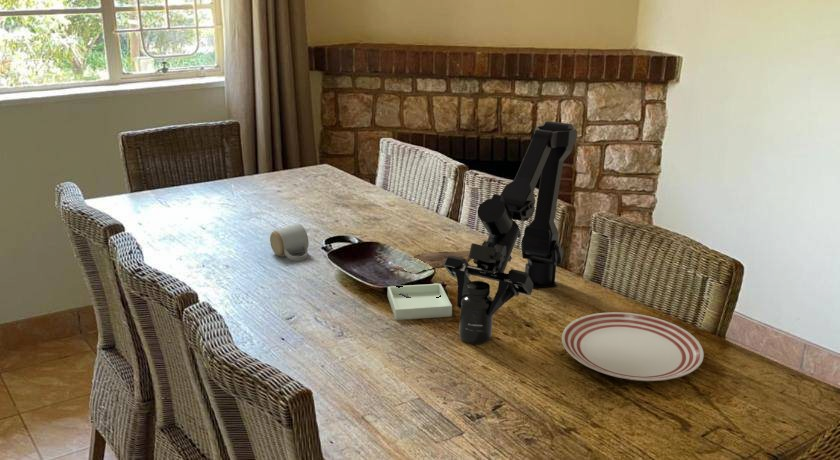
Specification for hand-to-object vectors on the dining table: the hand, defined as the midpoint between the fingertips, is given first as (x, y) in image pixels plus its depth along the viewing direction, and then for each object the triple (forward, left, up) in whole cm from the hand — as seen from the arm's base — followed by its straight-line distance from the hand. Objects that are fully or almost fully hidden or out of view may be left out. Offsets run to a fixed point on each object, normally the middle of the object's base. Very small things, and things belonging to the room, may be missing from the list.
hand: (473, 311), depth 158 cm
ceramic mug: (+36, -55, -7) cm, 66 cm away
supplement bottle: (-1, -1, -7) cm, 7 cm away
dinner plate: (-30, +11, -7) cm, 33 cm away
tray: (+8, -18, -7) cm, 21 cm away
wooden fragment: (-2, -45, -7) cm, 46 cm away
